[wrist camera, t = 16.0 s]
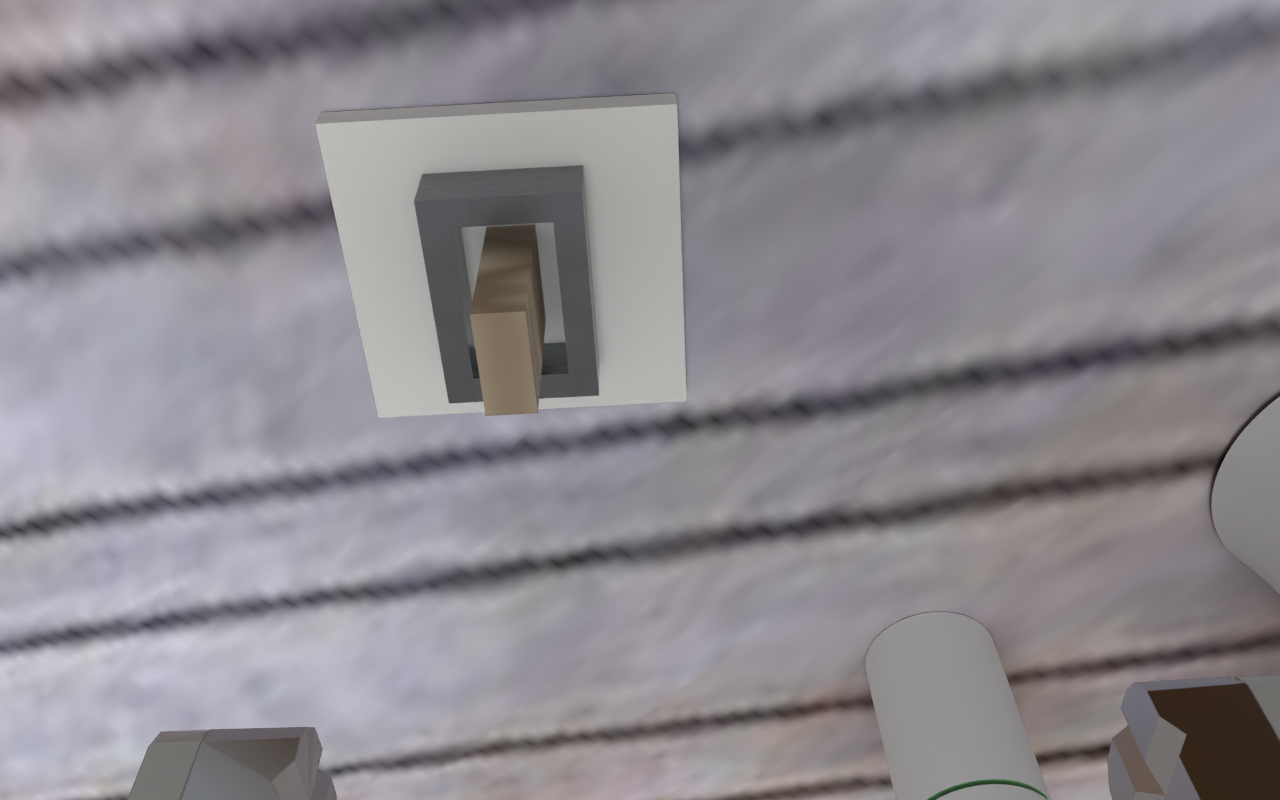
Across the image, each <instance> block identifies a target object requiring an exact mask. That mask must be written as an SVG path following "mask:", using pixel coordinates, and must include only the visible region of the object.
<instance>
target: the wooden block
mask: <svg viewBox="0 0 1280 800" xmlns="http://www.w3.org/2000/svg"><path fill="white" fill-rule="evenodd" d="M470 317H471V324H472V330H473V337H474V343H475V350H476V356H477V363H478V369H479V376H480V382H481V389H482V395H483V402H484V408H485V415H486V416H492V415H510V414H529V413H538V406H539V394H540V382H541V370H542V359H543V347H544V335H545V323H546V315H545V306H544V297H543V289H542V280H541V271H540V262H539V253H538V244H537V235H536V226H535V224H530V225H512V226H494V227H486V232H485V238H484V243H483V248H482V254H481V259H480V264H479V270H478V275H477V280H476V285H475V291H474V296H473V301H472V307H471V312H470Z"/></svg>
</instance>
